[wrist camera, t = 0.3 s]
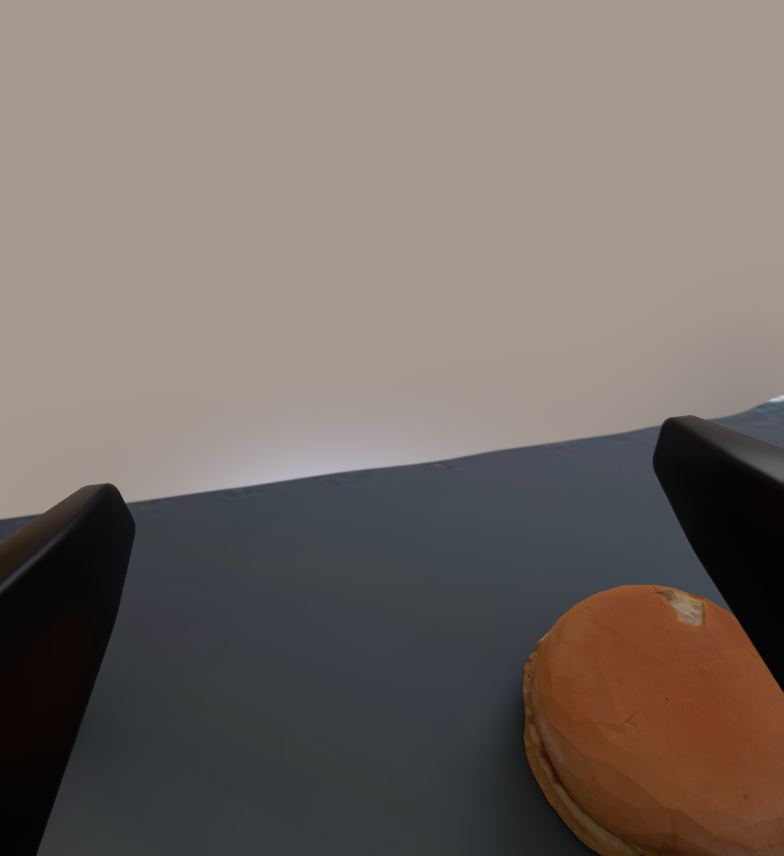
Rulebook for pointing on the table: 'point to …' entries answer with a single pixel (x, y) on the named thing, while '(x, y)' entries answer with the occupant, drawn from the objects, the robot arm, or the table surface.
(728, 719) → the burger
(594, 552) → the table surface
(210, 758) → the table surface
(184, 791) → the table surface
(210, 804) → the table surface
